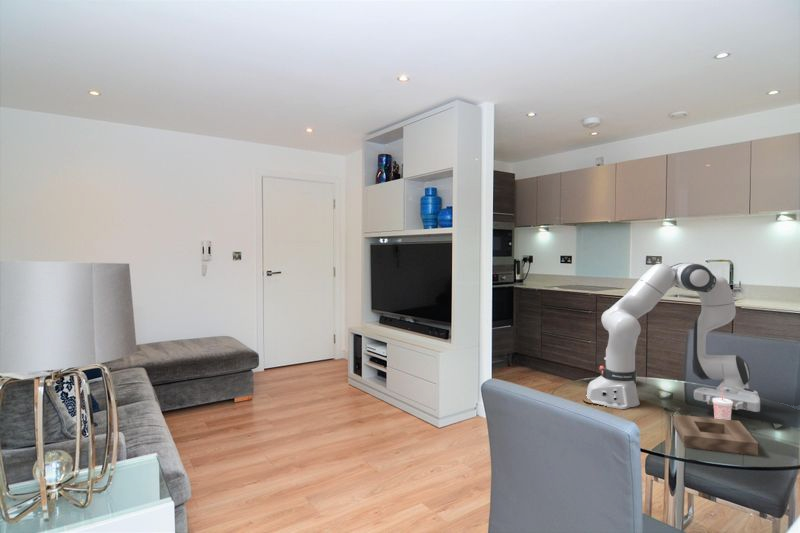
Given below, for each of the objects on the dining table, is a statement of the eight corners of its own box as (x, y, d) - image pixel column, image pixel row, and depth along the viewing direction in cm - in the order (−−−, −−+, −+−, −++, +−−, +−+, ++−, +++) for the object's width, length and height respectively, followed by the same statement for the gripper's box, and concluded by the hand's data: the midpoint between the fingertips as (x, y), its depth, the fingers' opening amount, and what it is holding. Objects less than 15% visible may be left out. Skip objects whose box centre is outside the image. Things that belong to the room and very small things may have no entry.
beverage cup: (708, 422, 164) (708, 386, 163) (718, 419, 166) (718, 383, 165) (726, 429, 158) (726, 391, 157) (736, 425, 160) (736, 388, 159)
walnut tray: (684, 446, 146) (684, 435, 146) (673, 424, 163) (673, 414, 163) (758, 455, 139) (758, 443, 139) (739, 431, 155) (739, 420, 155)
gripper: (698, 381, 178) (688, 390, 168) (763, 392, 163) (757, 403, 153) (697, 396, 178) (688, 406, 169) (762, 409, 163) (756, 420, 154)
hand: (721, 405), depth 161 cm, fingers closed on beverage cup, 6 cm apart
